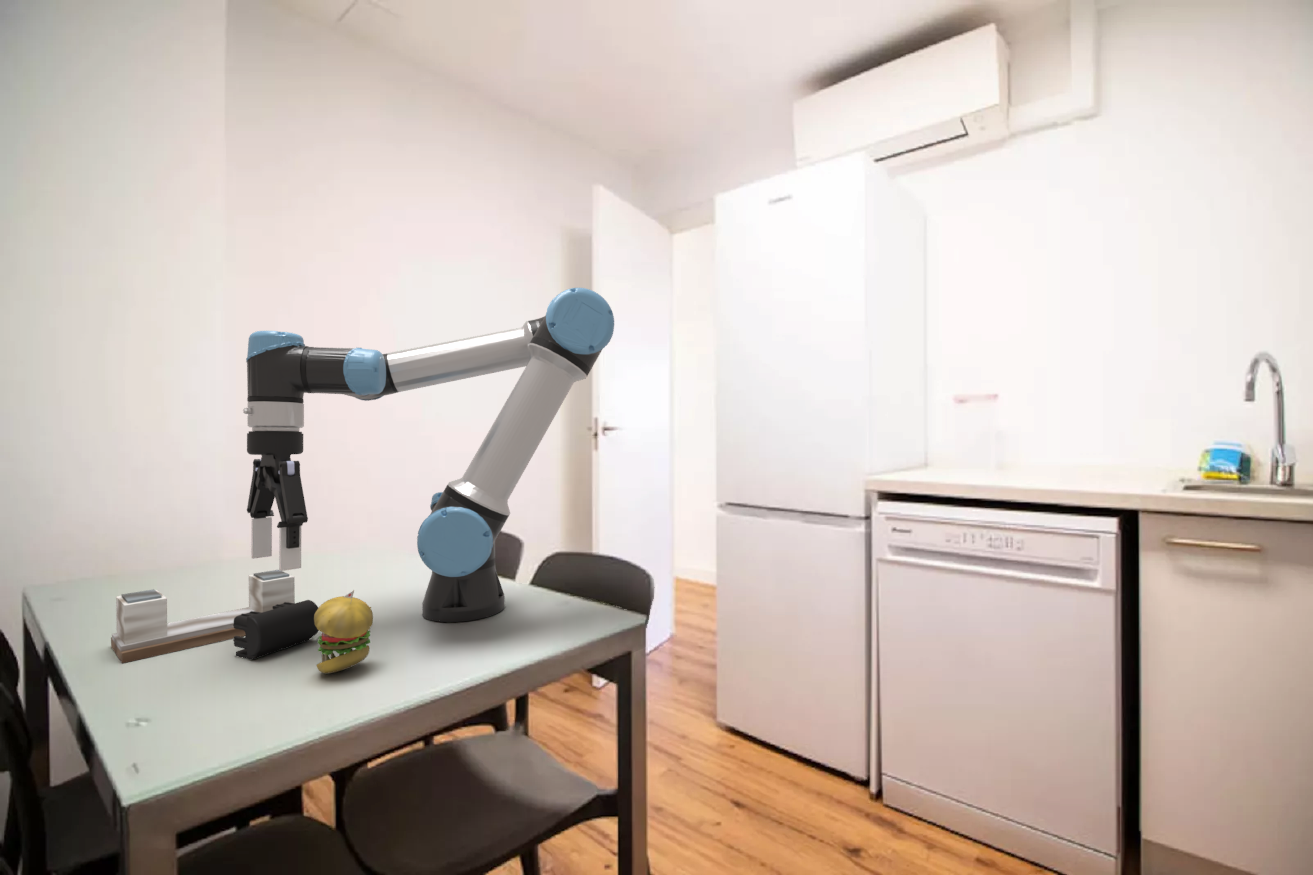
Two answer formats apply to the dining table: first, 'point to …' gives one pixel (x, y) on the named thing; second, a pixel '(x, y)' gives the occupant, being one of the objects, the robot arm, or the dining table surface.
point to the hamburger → (343, 632)
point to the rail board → (152, 635)
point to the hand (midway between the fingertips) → (275, 563)
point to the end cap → (275, 628)
